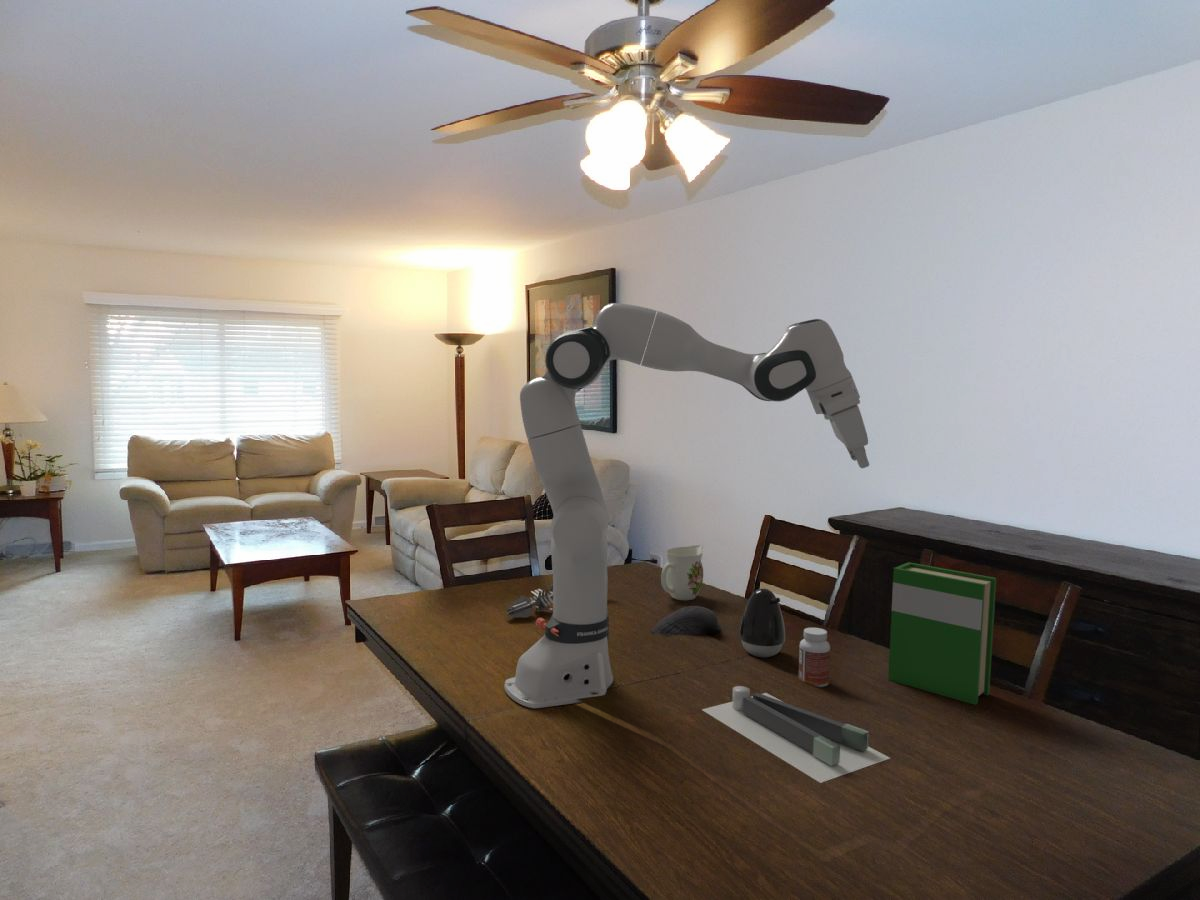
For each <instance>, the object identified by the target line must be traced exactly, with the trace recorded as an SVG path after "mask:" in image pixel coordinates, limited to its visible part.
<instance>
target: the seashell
mask: <svg viewBox="0 0 1200 900" xmlns="http://www.w3.org/2000/svg"><path fill="white" fill-rule="evenodd" d="M722 629H723V628H722V626H721V625H720V624H719V622H718V618H717V616H716V614H715V613H714V611H713V610H712V609H709V608H707V607H704V606H702V605H701V606H699V605H689V606H688V605H687V606H684V607H682V608H679V609H677V610H675V611H674V612H671V613H670V614H668V615H666V616H665V617H664V618H663V619H662V618H661V620H659V621H658V622H657V623H656V624H655V625H654V626H653V627H652V629H651V630H650V633H651V634H652V635H653V634H657V635H661V636H664V637H674V636H678V635H679V636H689V635H690V636H691V635H702V634H704V635H706V636H710V635H713V634H716V633H719V632H721V631H722Z"/></svg>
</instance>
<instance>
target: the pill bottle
mask: <svg viewBox="0 0 1200 900" xmlns="http://www.w3.org/2000/svg"><path fill="white" fill-rule="evenodd" d="M827 638H828V631H827V630H826V629H825V628H819V627H806V628H804V629H803V639H801V640H800V642H799V646H798V647H799V653H798V654H799V655H798V656H799V658H798V679H799V680H801V681H802V682H804V683H806V684H809V685H812V686H815V687H818V688H824V687H827V686H828V685H829V684H830V667H831V665H830V664H831V661H830V660H831V659H830V658H831V644H830V643H829V642H828V641H827Z"/></svg>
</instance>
